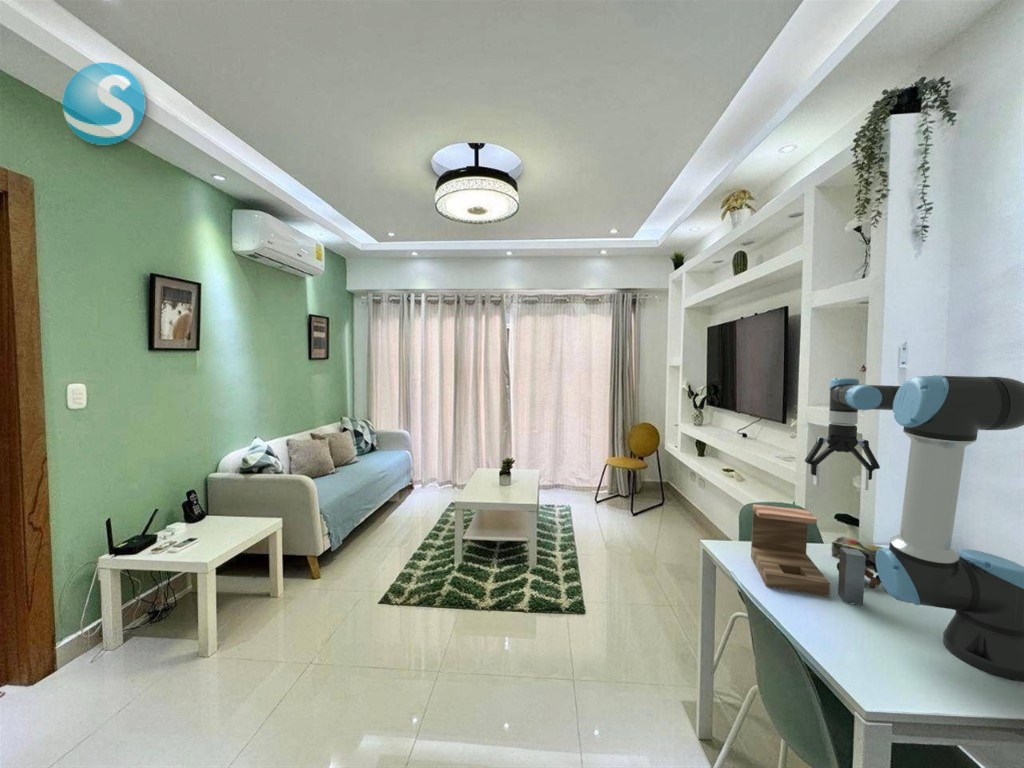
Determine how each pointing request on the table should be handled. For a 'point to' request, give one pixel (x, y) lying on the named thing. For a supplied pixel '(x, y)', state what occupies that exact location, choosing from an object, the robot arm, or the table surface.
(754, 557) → the socket stand
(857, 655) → the table surface
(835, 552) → the juice carton
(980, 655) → the robot arm
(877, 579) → the brown ring shaped figurine
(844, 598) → the peg
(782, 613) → the table surface
